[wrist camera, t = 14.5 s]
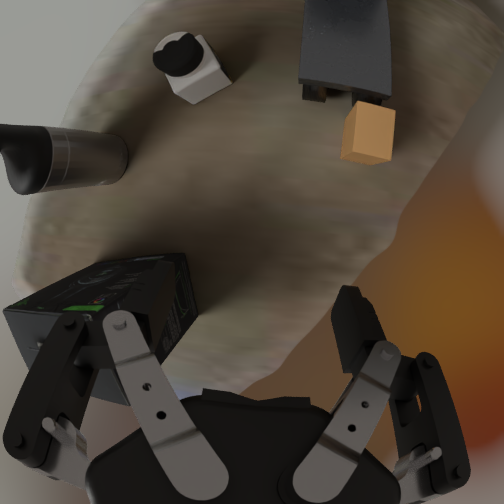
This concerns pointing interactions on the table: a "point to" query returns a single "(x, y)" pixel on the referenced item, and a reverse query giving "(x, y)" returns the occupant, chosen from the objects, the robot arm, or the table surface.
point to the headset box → (100, 310)
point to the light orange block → (368, 134)
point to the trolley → (346, 50)
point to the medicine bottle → (190, 66)
